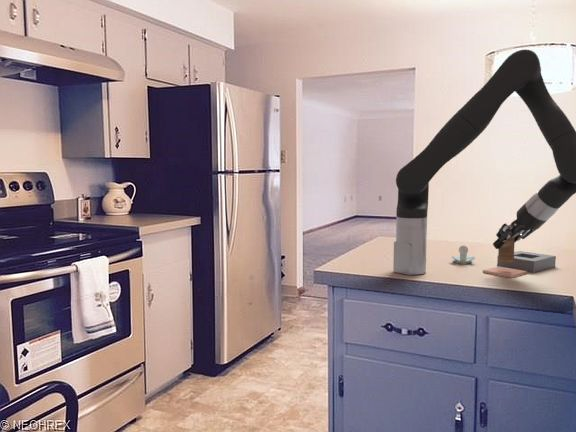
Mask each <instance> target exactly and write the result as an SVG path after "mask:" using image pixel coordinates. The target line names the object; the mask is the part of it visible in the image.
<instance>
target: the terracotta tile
mask: <svg viewBox="0 0 576 432" xmlns="http://www.w3.org/2000/svg"><path fill="white" fill-rule="evenodd" d="M527 272H528V271H523V270H517V269H511V268H505V267H499V266H495V267H492V268H491V267H490V268H486V269H482V273H483V274H486V275H487V274H488V275H492V276H498V277H504V278H509V279H512V278H517V277H519V276H523V275H526V274H527Z"/></svg>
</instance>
